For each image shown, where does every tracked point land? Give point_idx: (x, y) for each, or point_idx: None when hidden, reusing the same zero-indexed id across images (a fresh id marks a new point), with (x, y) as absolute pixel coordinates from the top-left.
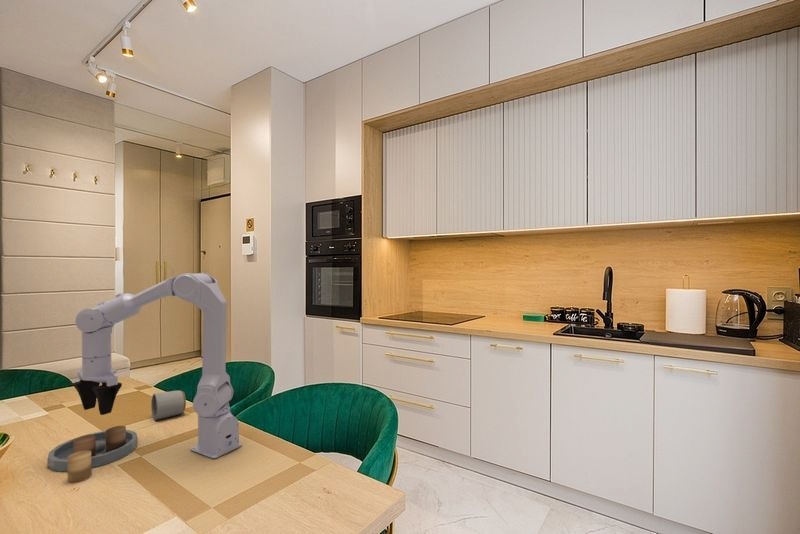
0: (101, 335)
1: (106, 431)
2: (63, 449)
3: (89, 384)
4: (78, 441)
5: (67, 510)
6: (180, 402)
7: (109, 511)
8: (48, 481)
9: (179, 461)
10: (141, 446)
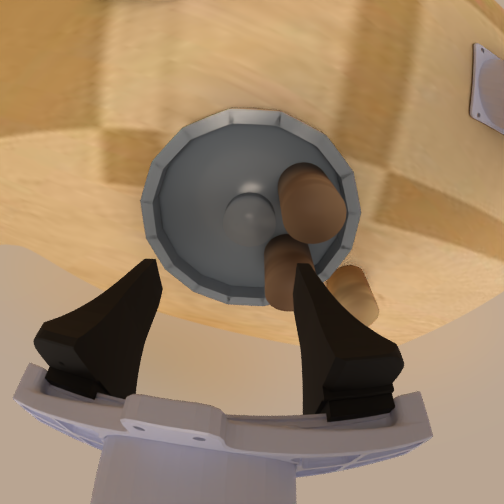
0: None
1: (304, 241)
2: (175, 254)
3: (114, 371)
4: None
5: (412, 320)
6: None
7: (461, 298)
8: None
9: (478, 164)
10: (331, 126)
